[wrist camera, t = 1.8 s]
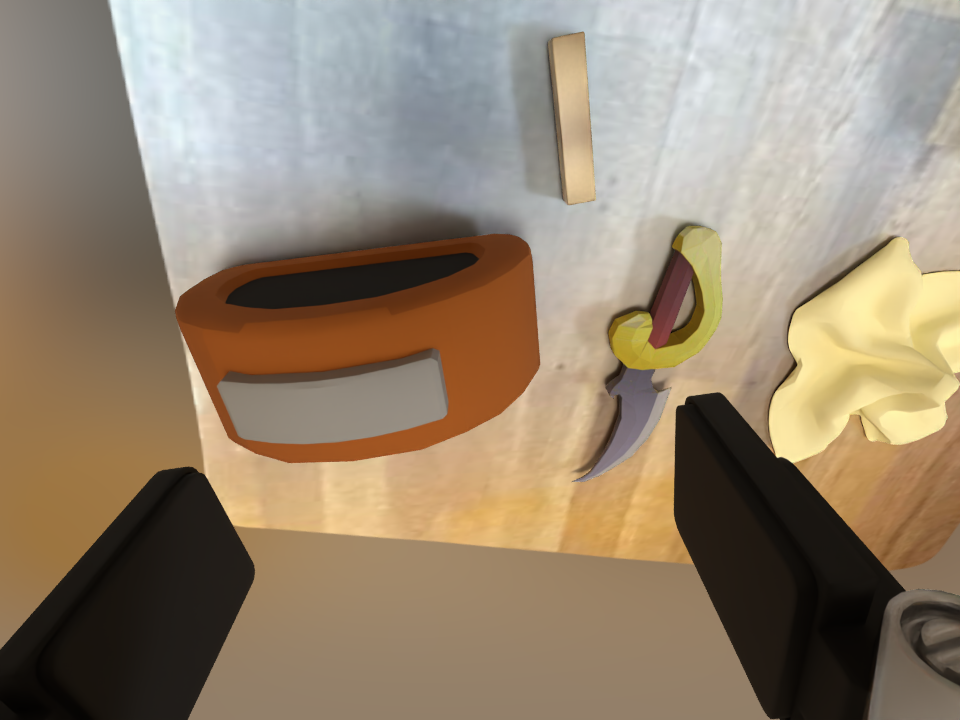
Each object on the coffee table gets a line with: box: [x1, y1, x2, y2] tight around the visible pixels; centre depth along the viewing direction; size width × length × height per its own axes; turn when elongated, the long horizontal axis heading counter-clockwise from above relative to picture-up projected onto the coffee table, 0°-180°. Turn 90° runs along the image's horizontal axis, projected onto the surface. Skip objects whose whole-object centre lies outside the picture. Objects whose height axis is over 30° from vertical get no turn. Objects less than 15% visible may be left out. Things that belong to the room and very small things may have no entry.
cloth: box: [768, 237, 960, 463], centre depth 40 cm, size 22×19×6 cm
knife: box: [572, 226, 723, 482], centre depth 41 cm, size 8×3×25 cm
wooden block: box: [548, 32, 596, 205], centre depth 33 cm, size 10×2×2 cm, turn 10°
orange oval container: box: [175, 234, 540, 463], centre depth 32 cm, size 23×9×17 cm, turn 97°
